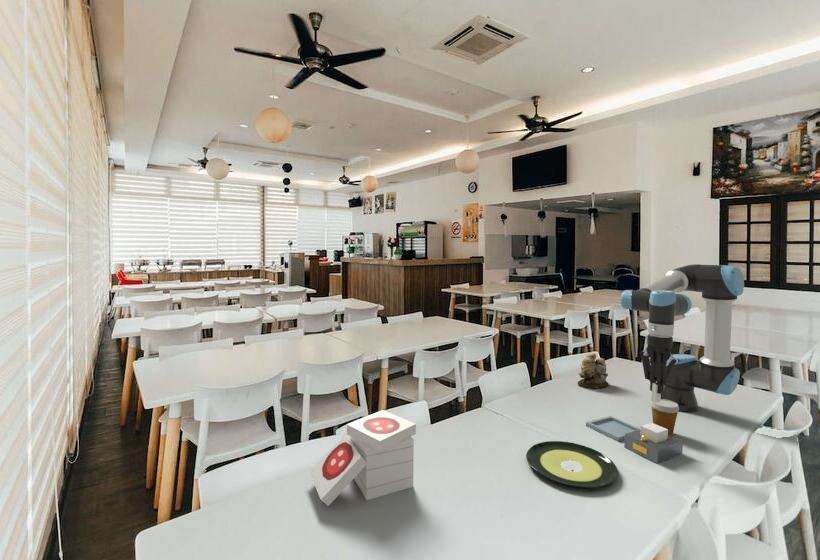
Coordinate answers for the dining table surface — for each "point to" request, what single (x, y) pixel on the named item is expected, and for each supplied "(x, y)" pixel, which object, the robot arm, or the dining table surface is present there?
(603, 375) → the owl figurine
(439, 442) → the dining table surface
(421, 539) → the dining table surface
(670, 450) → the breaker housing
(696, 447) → the dining table surface
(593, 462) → the plate
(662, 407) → the disposable coffee cup
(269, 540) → the dining table surface
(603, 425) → the tray
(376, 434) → the pizza boxes
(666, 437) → the button
